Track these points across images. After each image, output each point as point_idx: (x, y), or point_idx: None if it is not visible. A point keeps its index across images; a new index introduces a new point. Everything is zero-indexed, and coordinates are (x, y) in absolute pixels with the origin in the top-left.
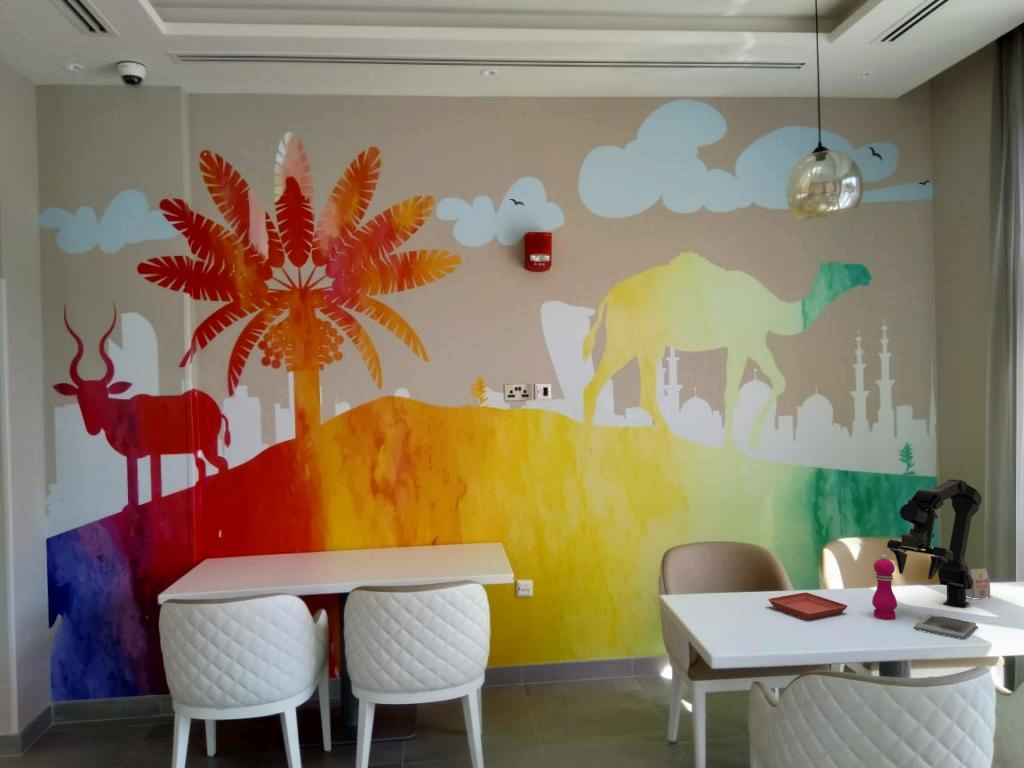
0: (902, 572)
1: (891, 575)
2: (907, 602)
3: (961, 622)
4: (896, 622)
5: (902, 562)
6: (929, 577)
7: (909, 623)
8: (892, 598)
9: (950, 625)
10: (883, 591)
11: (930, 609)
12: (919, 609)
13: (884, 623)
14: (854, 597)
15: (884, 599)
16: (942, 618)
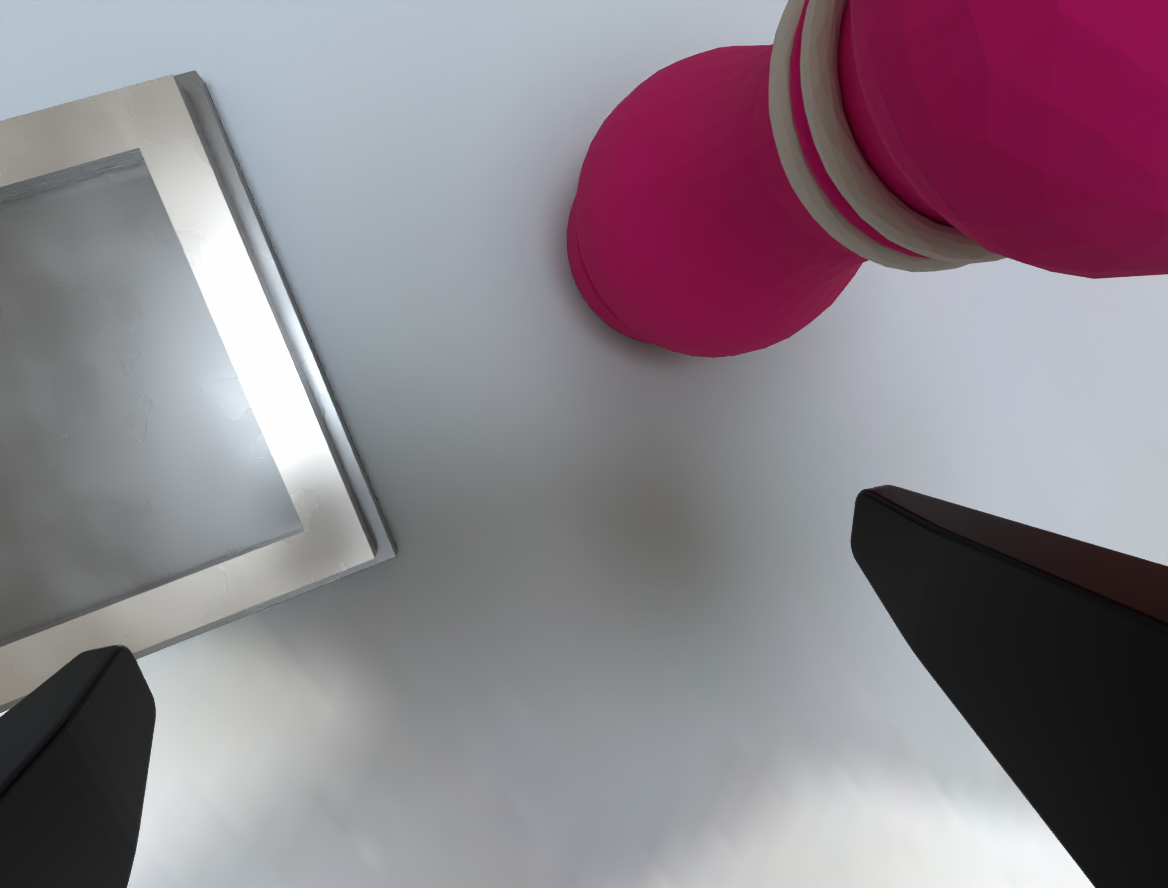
0: (871, 571)
1: (875, 175)
2: (848, 831)
3: None
4: (478, 172)
5: (1110, 722)
6: (70, 669)
7: (391, 261)
8: (623, 177)
9: (47, 505)
10: (746, 58)
11: (609, 848)
12: (658, 754)
13: (513, 29)
14: (1158, 529)
15: (670, 75)
16: (198, 571)
